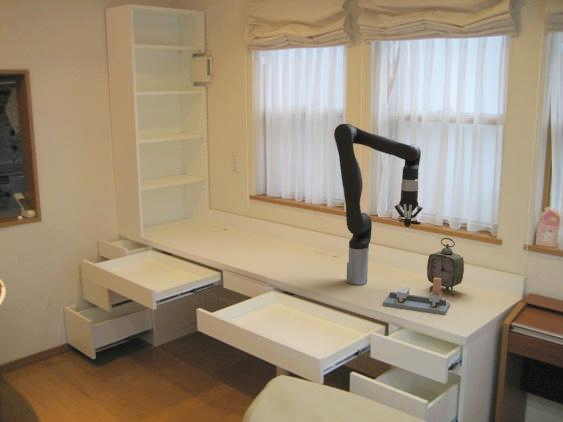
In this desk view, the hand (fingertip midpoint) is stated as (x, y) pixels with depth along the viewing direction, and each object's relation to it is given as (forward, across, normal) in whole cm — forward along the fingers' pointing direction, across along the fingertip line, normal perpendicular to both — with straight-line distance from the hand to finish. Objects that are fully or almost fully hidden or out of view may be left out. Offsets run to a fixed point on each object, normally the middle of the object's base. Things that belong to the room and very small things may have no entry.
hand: (407, 226), depth 282 cm
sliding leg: (+27, +18, -22) cm, 39 cm away
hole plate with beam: (+29, +10, -22) cm, 38 cm away
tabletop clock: (+29, +18, +3) cm, 34 cm away
